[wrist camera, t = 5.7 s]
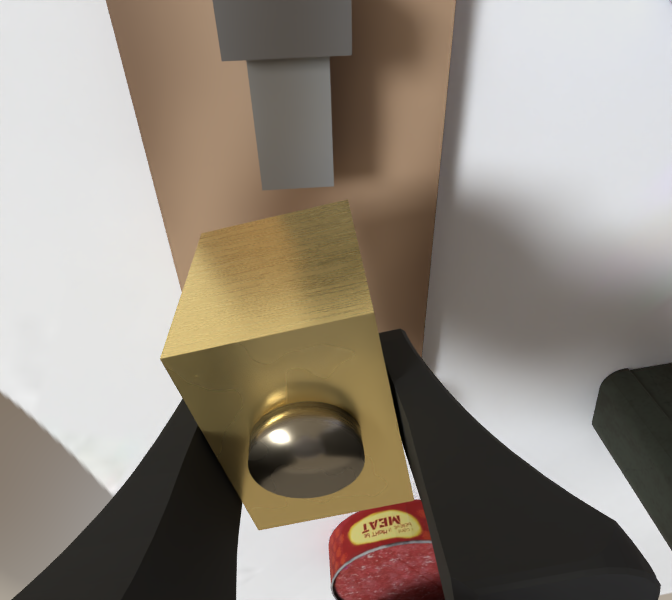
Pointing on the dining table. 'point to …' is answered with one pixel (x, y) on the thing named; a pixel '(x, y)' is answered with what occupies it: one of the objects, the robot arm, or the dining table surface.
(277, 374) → the block
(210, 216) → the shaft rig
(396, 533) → the canned food
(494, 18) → the dining table surface
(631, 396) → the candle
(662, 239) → the dining table surface
